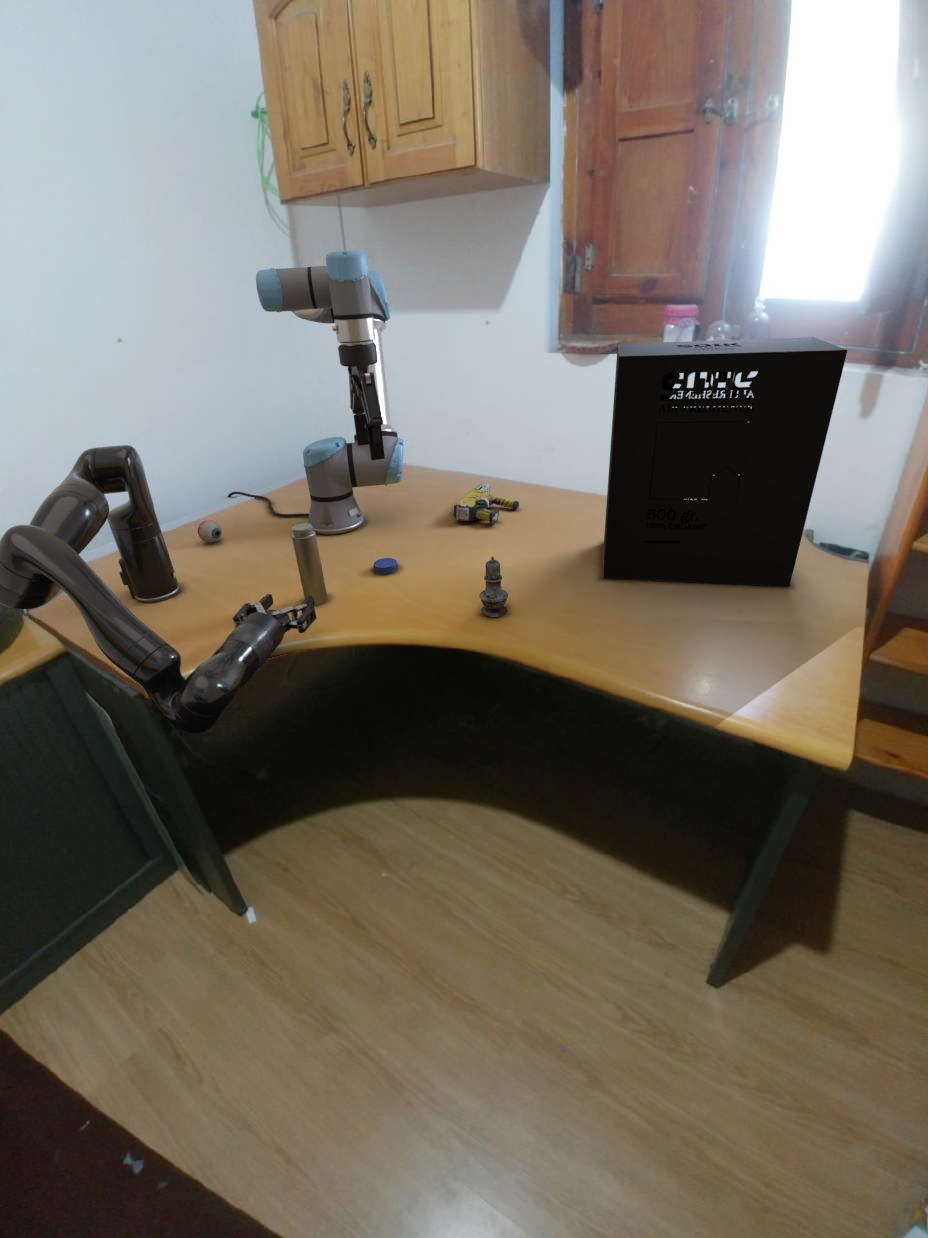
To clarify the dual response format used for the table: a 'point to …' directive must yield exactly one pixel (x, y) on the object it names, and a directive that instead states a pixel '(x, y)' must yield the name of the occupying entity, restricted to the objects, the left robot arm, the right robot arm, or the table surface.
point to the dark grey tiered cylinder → (493, 591)
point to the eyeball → (209, 531)
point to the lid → (385, 566)
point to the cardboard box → (716, 458)
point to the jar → (309, 562)
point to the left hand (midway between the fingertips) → (291, 598)
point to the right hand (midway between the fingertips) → (370, 451)
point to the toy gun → (480, 505)
